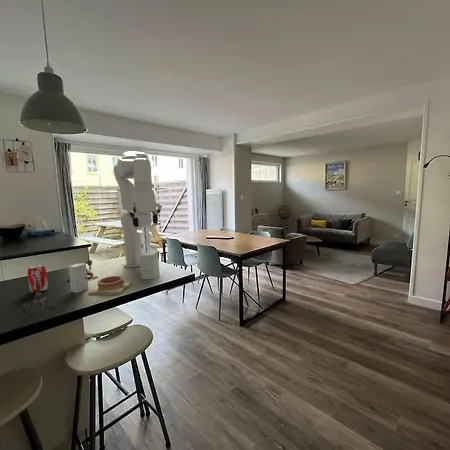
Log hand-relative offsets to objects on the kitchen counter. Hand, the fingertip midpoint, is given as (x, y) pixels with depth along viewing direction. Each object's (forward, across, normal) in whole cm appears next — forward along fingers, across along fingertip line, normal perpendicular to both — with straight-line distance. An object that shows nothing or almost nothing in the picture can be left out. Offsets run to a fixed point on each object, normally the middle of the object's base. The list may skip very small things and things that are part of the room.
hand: (146, 225), depth 120 cm
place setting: (+30, +14, -42) cm, 53 cm away
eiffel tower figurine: (+30, +40, -17) cm, 53 cm away
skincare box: (+29, +24, -22) cm, 43 cm away
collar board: (+29, +13, -12) cm, 34 cm away
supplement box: (+29, -8, -12) cm, 33 cm away
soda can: (+29, +36, -36) cm, 59 cm away
